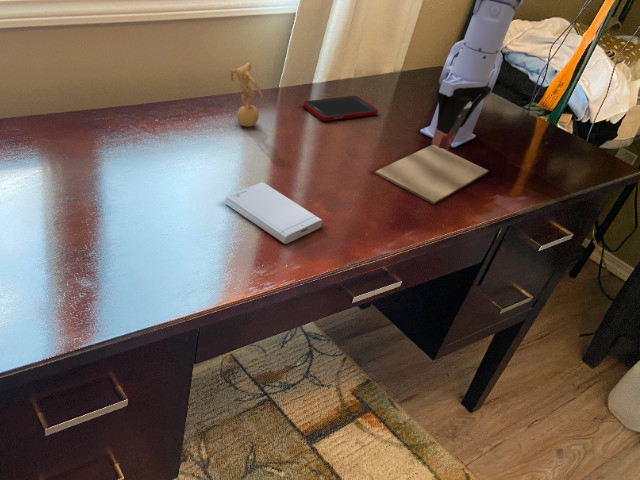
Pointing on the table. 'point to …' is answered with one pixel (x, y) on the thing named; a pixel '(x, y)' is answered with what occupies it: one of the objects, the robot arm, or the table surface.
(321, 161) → the table surface
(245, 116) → the figurine
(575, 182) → the table surface
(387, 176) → the desk mat
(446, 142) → the milkshake
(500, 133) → the table surface
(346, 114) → the cell phone
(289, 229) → the hard drive
